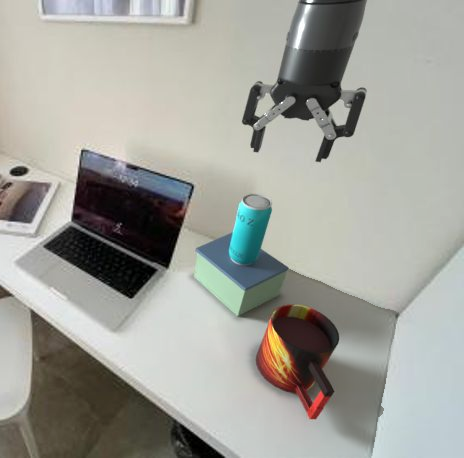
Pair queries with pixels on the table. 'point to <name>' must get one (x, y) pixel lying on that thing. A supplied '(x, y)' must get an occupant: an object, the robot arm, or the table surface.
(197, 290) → the table surface
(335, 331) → the mug
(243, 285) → the box lid
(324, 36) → the robot arm
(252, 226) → the beverage can
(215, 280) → the storage box
